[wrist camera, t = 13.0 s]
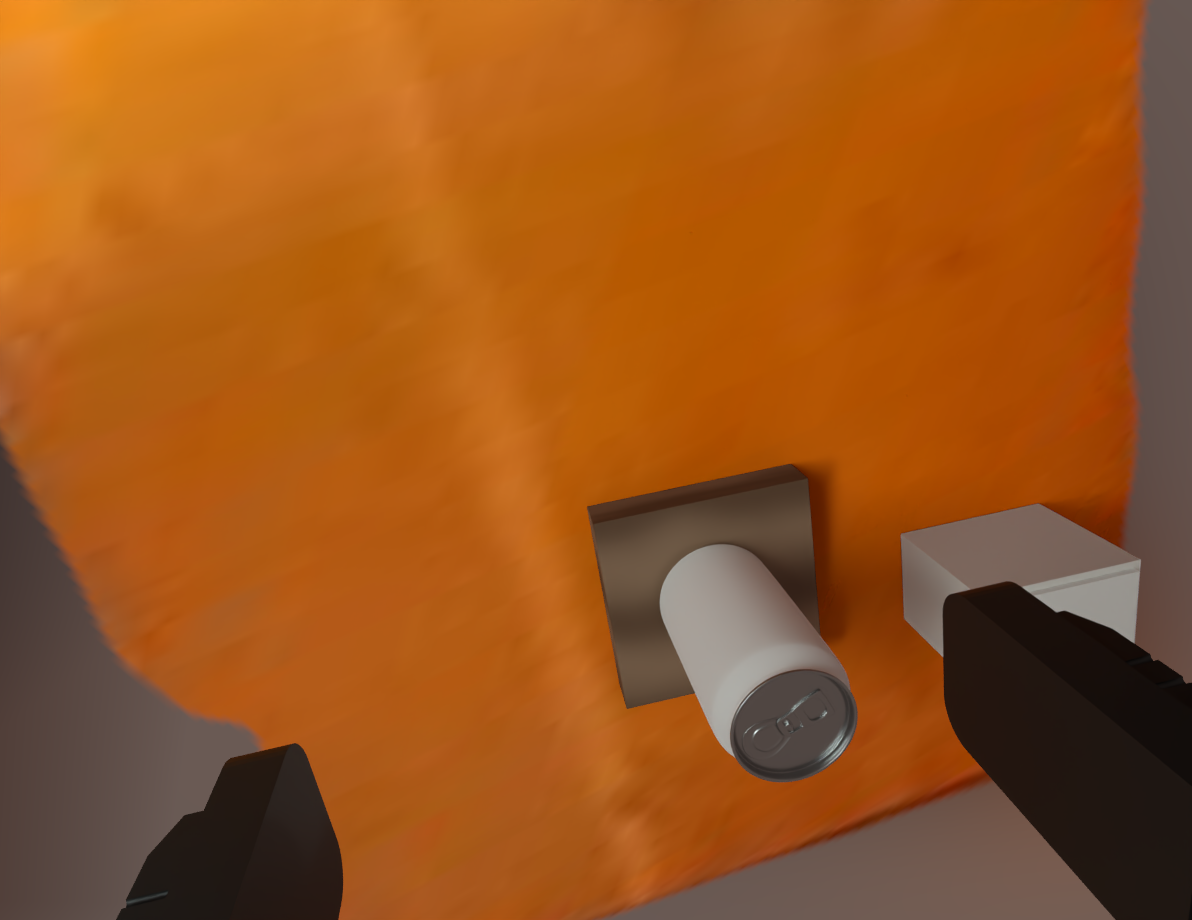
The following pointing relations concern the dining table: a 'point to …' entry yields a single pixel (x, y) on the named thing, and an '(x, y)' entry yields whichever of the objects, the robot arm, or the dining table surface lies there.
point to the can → (757, 665)
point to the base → (675, 529)
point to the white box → (1019, 568)
